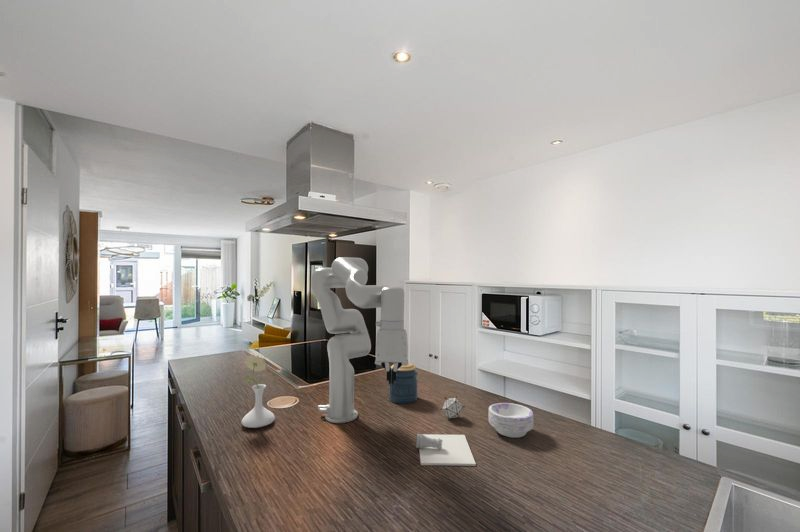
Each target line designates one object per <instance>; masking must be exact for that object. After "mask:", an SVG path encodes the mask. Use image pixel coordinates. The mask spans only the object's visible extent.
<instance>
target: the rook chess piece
mask: <svg viewBox="0 0 800 532" xmlns="http://www.w3.org/2000/svg"><path fill="white" fill-rule="evenodd" d="M423 434H424V433H421V434H420V433H419V432H418V433H417V434H416V435H417V436H416V442H415V443H416V444H415V448H416V449H419V448H420V449H422V448H423V447H433V448H435V447H436V448H437V449H438V450H439V449H442V446H441V445H442V443H441V442H442V440H441V439H440V438H439V439H435V438H434V439H432V438H428V437H426V436H424V435H423Z"/></svg>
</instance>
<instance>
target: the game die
mask: <svg viewBox="0 0 800 532" xmlns="http://www.w3.org/2000/svg"><path fill="white" fill-rule="evenodd" d="M457 397H458V396H457V395H455V397H449V398H447V397H446V396H444V399H445V400H444V403H443V405H442V407H441V408H439V410H440V411H441V410H442V411H443V413H444V414H445V416H447V421H450V419H457V418H458V419H459V420H461V415H462V411H463V409H464V408H465V407H466V406H465V405H463V404H462V403H461V402H460V401H459V399H458V398H457Z"/></svg>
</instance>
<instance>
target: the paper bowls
mask: <svg viewBox="0 0 800 532" xmlns="http://www.w3.org/2000/svg"><path fill="white" fill-rule="evenodd" d="M488 423H489V424H490V425H491V426H492V427H494V429H495V431H496V432H497V433H498V434H500V435H501V436H504V437H507V438H514V439H516V438H522V437H525V436H526V435H527V433H528V432H530V431H532V430H533V429H534V411H532V409H531V408H529V407H527V406H524V405H522V404H516V403H511V402H500V403H499V402H498V403H493V404H491V405H489V407H488Z"/></svg>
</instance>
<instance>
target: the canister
mask: <svg viewBox="0 0 800 532" xmlns="http://www.w3.org/2000/svg"><path fill="white" fill-rule="evenodd" d="M393 367H394V364H392V365H391V366H390V368H391V381H392V368H393ZM418 373H419V372H418V371H417V367H416V365H415V364H414V363H412V362H410V361H408V365H404V366H401V367H400V368H399V369H398V370H397V371H396V381H394V384H389V383H388V385H389V386H388V399H389V401H390V402H393V403H395V404H401V405H402V404H405V405H406V404H412V403H415V402H416V401H417V400H418V396H419V395H418V394H419V393H418V382H419V379H418V377H417V375H418Z"/></svg>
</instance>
